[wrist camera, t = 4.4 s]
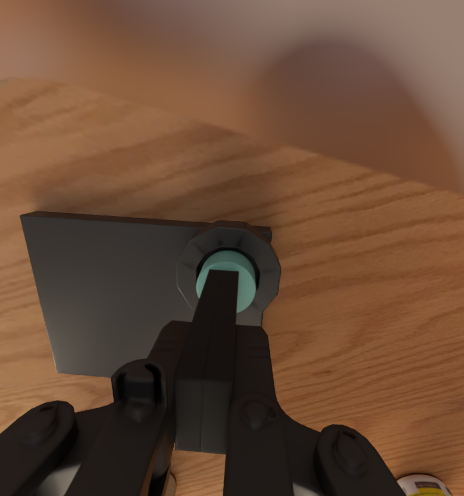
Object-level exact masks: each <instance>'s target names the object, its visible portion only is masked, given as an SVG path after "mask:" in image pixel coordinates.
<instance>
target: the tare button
mask: <svg viewBox="0 0 464 496" xmlns="http://www.w3.org/2000/svg"><path fill="white" fill-rule="evenodd" d="M209 269H213V270H227V271H239V280H238V298H237V313H238V312H241V311H243V310H244V309H246V308H247V307H248V306H249V305H250V304H251V302H252V301H253V299H254V297H255V293H256V283H255V272H254V268H253V266H252V264H251V262H250V261H249V260H248V259H247V258H246V257H245V256H244V255H242V254H240V253H238V252H235V251H220V252H217V253H215V254H213V255H211V256H210V257H209V258H208V259H207V260H206V261H205V263H204V265H203V267H202V270H201V272H200V274H199V277H198V279H197V284H196V290H197V294H198V297H199V298H200V295H201V293H202V290H203V287H204V284H205V281H206V278H207V275H208V272H209Z"/></svg>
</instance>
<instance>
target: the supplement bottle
mask: <svg viewBox="0 0 464 496" xmlns="http://www.w3.org/2000/svg"><path fill="white" fill-rule="evenodd" d="M397 482H398V484H399V485H400V487H401V488H402V490H403V491H404V493H405V494H406V496H453V495H452V494H451V492H450V490H449V489H448V488H447V486H446V485H445V484H444V483H443V482H441V481H440V480H439V479H437V478H435V477H432V476H428V475H409V476H406V477H403V478H401V479H399V480H397Z"/></svg>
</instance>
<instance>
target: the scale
mask: <svg viewBox="0 0 464 496" xmlns="http://www.w3.org/2000/svg"><path fill="white" fill-rule="evenodd" d="M20 219H21V223H22V227H23V232H24V236H25V240H26V244H27V249H28V253H29V257H30V261H31V266H32V270H33V274H34V278H35V282H36V287H37V291H38V295H39V299H40V304H41V308H42V312H43V316H44V321H45V325H46V329H47V333H48V337H49V342H50V346H51V350H52V354H53V359H54V363H55V367H56V371H57V373H64V374H75V375H86V376H97V377H108V378H111V376H112V375H113V374H114V373H115V372H116V371H117V369H119V368H120V367H122V366H123V365H125V364H126V363H128V362H131V361H134V360H137V359H147V357H148V355H149V353H150V351H151V349H152V348H153V345H154V343H155V341H156V340H157V337H158V335H159V333H160V331H161V329H162V328H163V327H164V326H165V325H166V324H168V323H169V322H170V321H171V320H175V321H188V322H192V319H193V316H194V313H195V310H196V307H197V304H198V301H199V297H198V294H197V290H196V284H197V279H198V277H199V274H200V272H201V270H202V267H203V265H204V263H205V261H206V260H207V259H208V258H209V257H210V256H211V255H213V254H215V253H217V252H220V251H235V252H238V253H240V254H242V255H244V256H245V257H246V258H247V259H248V260H249V261H250V262H251V264H252V266H253V268H254V272H255V283H256V293H255V297H254V299H253V301H252V302H251V304H250V305H249V306H248V307H247V308H246V309H244V310H243V311H241V312H238V313H237V315H236V324H237V325H250V326H261V325H262V317H263V311H264V310H265V309H266V308H267V306H268V305H269V304H270V303H271V302H272V300H273V299H274V298H275V297H276V296H277V294H278V290H279V282H280V275H281V266H280V263H279V260H278V257H277V255H276V253H275V251H274V249H273V247H272V245H271V239H272V232H271V229H270V227H262V226H251V225H249V224H248V223H245V222H236V221H222V220H220V221H216V222H214V223H204V222H189V221H174V220H160V219H145V218H130V217H116V216H101V215H86V214H72V213H57V212H42V211H35V212H31V213H27V214H22V215H20Z"/></svg>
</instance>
